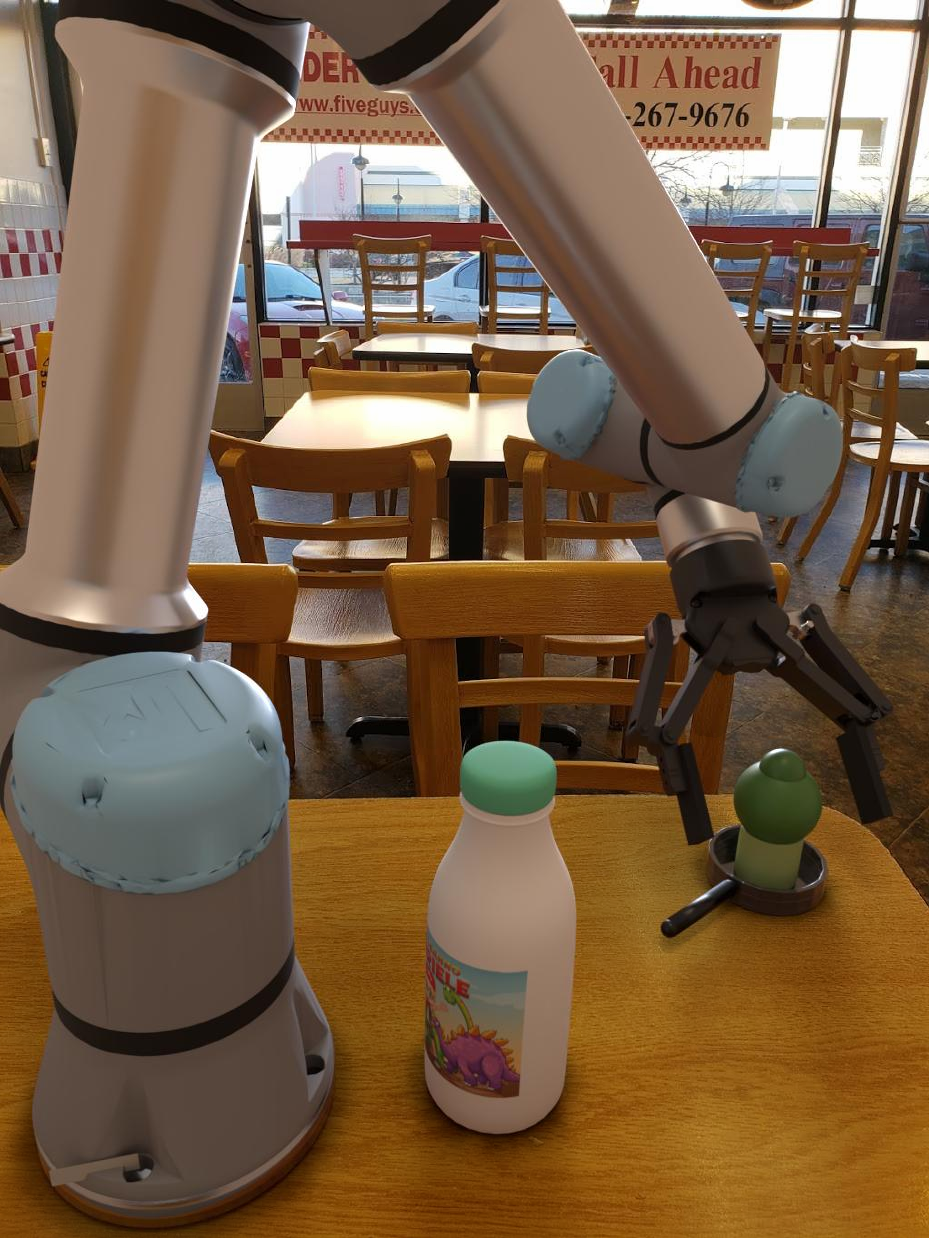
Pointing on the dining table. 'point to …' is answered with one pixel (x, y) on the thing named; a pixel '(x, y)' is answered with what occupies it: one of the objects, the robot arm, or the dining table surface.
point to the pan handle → (698, 908)
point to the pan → (763, 898)
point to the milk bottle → (500, 948)
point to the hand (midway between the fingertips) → (791, 831)
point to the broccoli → (774, 818)
